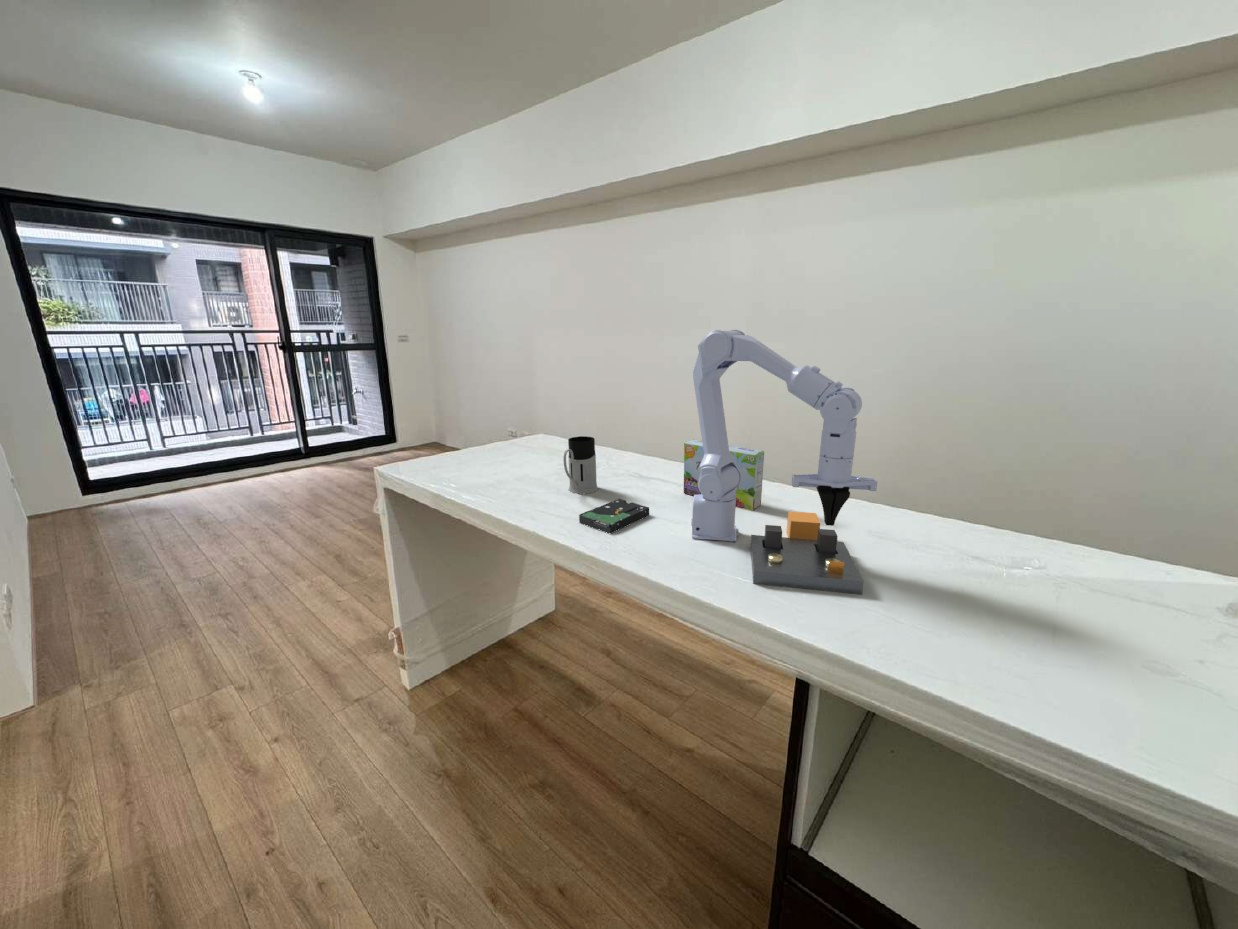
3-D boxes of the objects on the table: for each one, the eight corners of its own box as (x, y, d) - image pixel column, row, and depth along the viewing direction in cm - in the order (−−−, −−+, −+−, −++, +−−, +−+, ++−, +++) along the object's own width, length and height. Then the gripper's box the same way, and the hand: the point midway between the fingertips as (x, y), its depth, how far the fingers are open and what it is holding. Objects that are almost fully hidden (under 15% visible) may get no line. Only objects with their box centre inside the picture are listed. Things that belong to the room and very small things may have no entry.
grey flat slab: (753, 583, 85) (754, 560, 84) (750, 545, 100) (751, 526, 99) (861, 594, 81) (865, 570, 80) (842, 553, 96) (844, 532, 95)
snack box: (682, 494, 132) (683, 442, 128) (692, 489, 136) (694, 438, 132) (752, 511, 119) (756, 453, 115) (762, 505, 123) (766, 449, 119)
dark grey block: (818, 553, 91) (820, 534, 90) (816, 547, 94) (818, 528, 93) (835, 555, 91) (837, 536, 90) (832, 548, 93) (834, 529, 92)
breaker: (764, 549, 94) (766, 530, 92) (764, 543, 96) (765, 524, 95) (780, 550, 93) (782, 531, 92) (779, 544, 96) (780, 525, 95)
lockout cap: (789, 542, 101) (791, 521, 100) (786, 532, 106) (788, 511, 105) (818, 545, 100) (820, 523, 98) (813, 534, 105) (815, 513, 104)
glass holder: (603, 486, 140) (601, 437, 136) (580, 501, 128) (578, 447, 124) (577, 483, 144) (575, 435, 140) (552, 497, 131) (549, 445, 127)
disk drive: (618, 508, 124) (578, 524, 113) (618, 498, 124) (578, 513, 113) (650, 517, 118) (610, 536, 107) (650, 507, 117) (610, 524, 106)
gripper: (797, 459, 85) (791, 528, 89) (885, 462, 82) (876, 534, 85) (793, 449, 92) (787, 515, 95) (874, 452, 88) (865, 520, 92)
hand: (828, 523), depth 91 cm, fingers closed
